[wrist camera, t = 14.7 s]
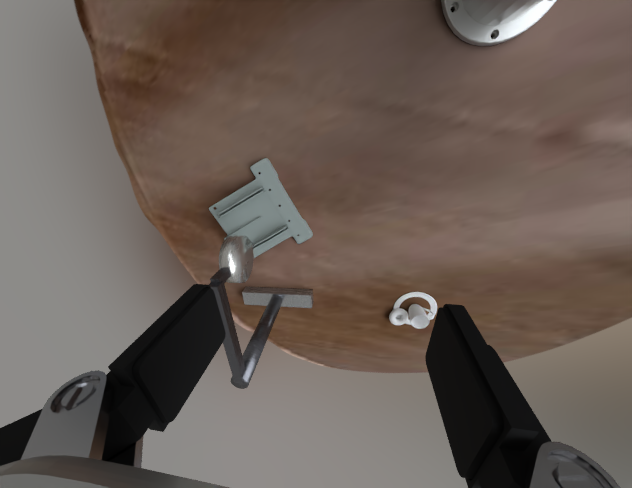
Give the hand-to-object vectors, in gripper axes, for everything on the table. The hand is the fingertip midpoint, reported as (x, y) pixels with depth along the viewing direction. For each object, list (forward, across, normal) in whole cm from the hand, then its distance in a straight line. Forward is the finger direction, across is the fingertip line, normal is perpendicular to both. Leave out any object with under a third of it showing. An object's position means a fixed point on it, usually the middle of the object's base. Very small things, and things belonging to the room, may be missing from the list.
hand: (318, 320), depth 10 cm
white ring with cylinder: (+30, -11, +23) cm, 39 cm away
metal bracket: (+30, +15, +6) cm, 34 cm away
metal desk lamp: (+29, +13, +15) cm, 35 cm away
